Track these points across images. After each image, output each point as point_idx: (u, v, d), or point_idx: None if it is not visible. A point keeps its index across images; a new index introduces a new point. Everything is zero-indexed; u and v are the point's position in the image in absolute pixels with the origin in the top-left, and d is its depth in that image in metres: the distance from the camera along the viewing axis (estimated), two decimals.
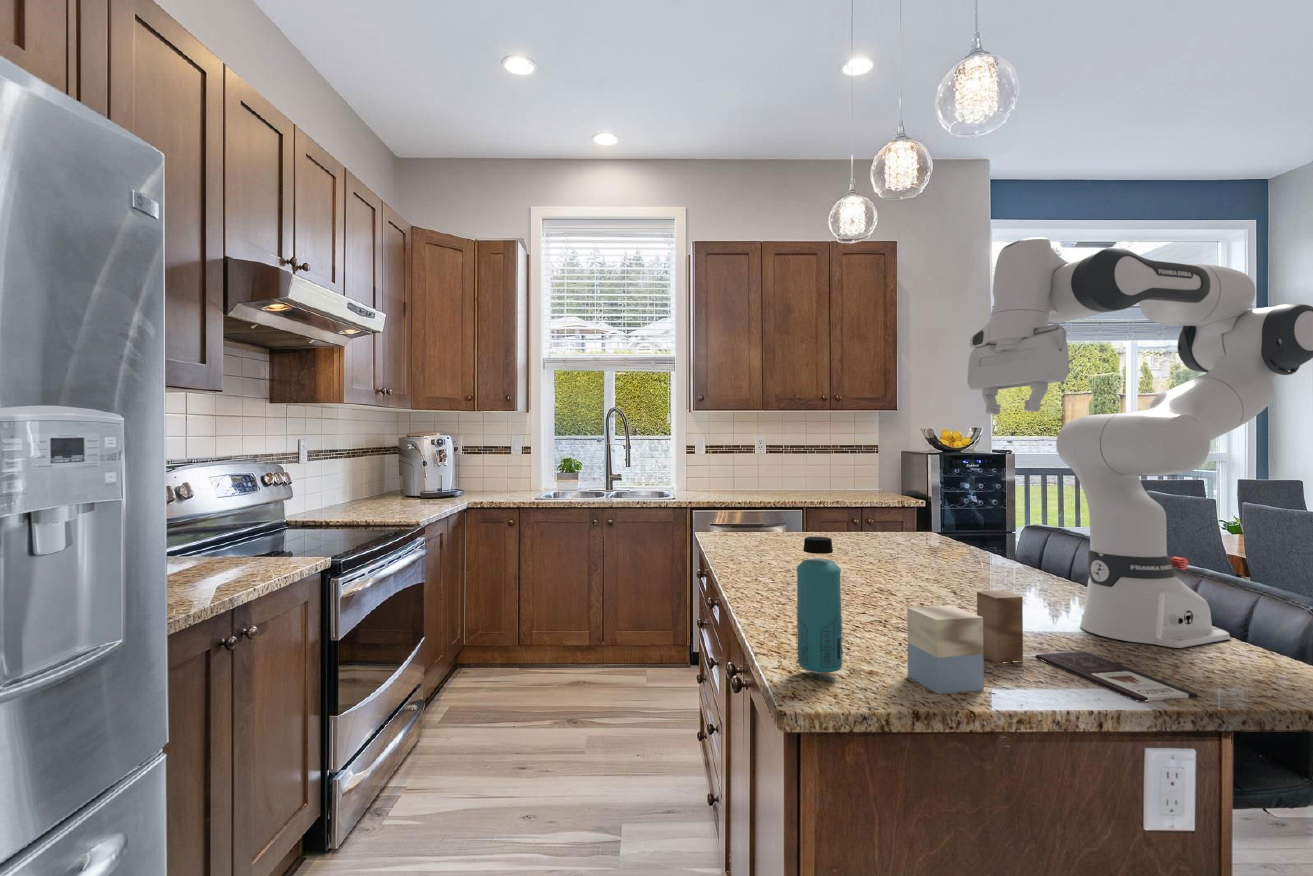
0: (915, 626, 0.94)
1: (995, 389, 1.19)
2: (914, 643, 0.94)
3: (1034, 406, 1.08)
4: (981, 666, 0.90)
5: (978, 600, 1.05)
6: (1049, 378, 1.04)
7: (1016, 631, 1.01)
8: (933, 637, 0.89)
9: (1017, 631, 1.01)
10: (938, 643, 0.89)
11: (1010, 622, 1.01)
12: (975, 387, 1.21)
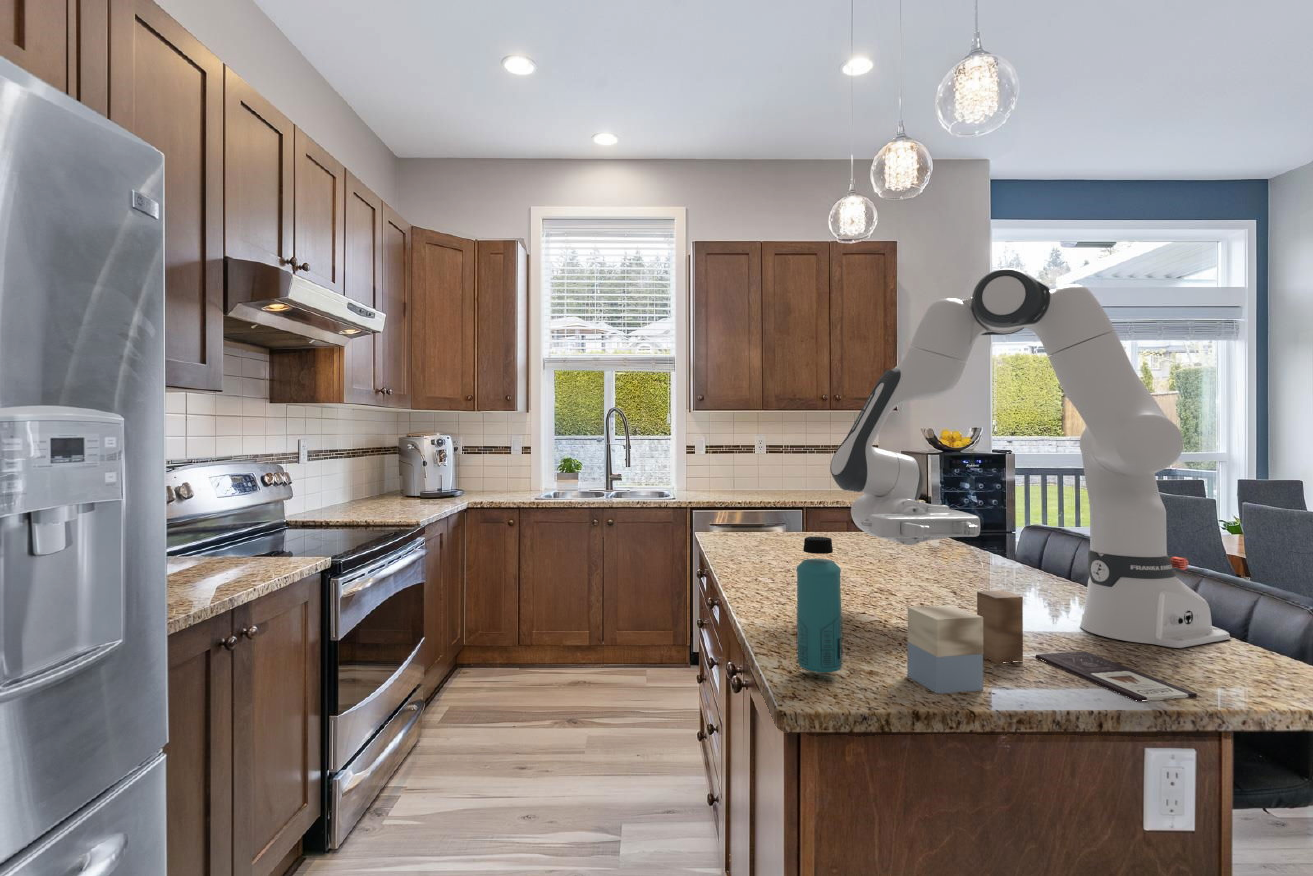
0: (915, 625, 0.94)
1: (959, 524, 1.21)
2: (914, 643, 0.94)
3: (919, 532, 1.15)
4: (980, 666, 0.90)
5: (978, 600, 1.05)
6: (885, 535, 1.18)
7: (1016, 631, 1.01)
8: (933, 637, 0.89)
9: (1017, 631, 1.01)
10: (938, 642, 0.89)
11: (1010, 622, 1.01)
12: (970, 535, 1.22)
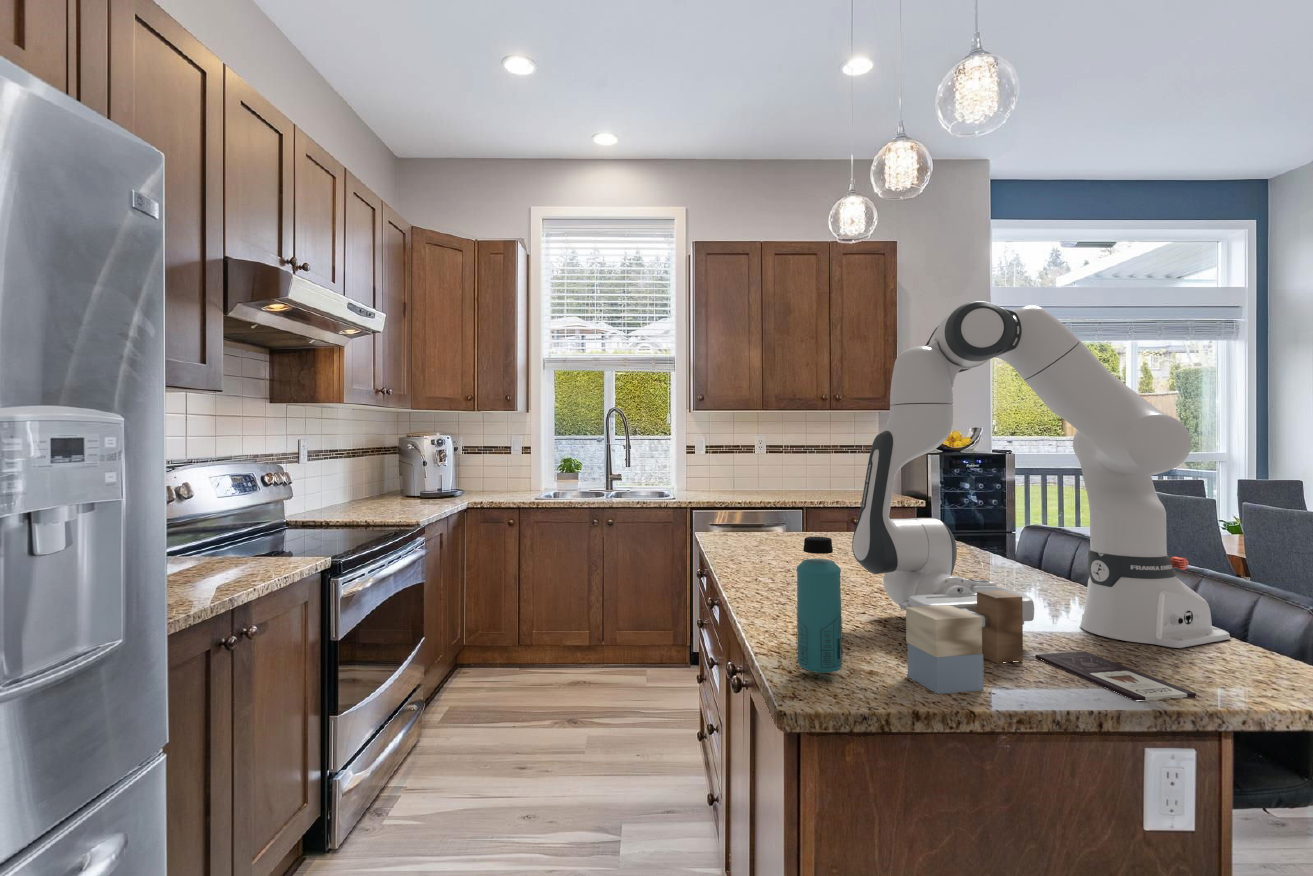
0: (914, 625, 0.94)
1: None
2: (913, 643, 0.94)
3: None
4: (981, 666, 0.90)
5: (978, 600, 1.05)
6: None
7: (1016, 631, 1.01)
8: (932, 637, 0.89)
9: (1017, 631, 1.01)
10: (937, 643, 0.89)
11: (1010, 622, 1.01)
12: None
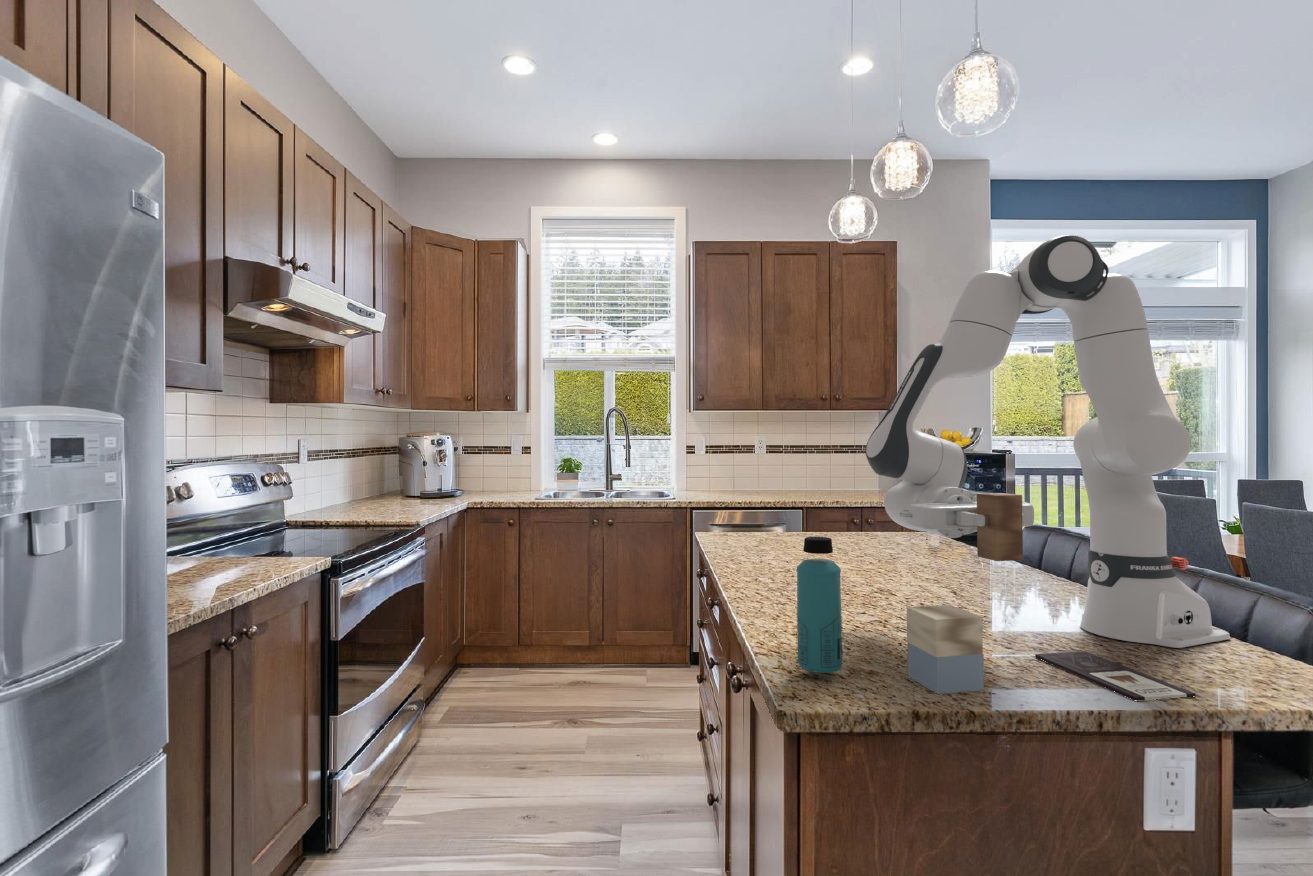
0: (914, 625, 0.94)
1: None
2: (913, 643, 0.94)
3: (978, 521, 1.03)
4: (981, 665, 0.90)
5: (978, 501, 1.05)
6: (930, 526, 1.06)
7: (1016, 529, 1.01)
8: (933, 637, 0.89)
9: (1017, 529, 1.01)
10: (937, 643, 0.89)
11: (1010, 520, 1.01)
12: (1024, 525, 1.09)
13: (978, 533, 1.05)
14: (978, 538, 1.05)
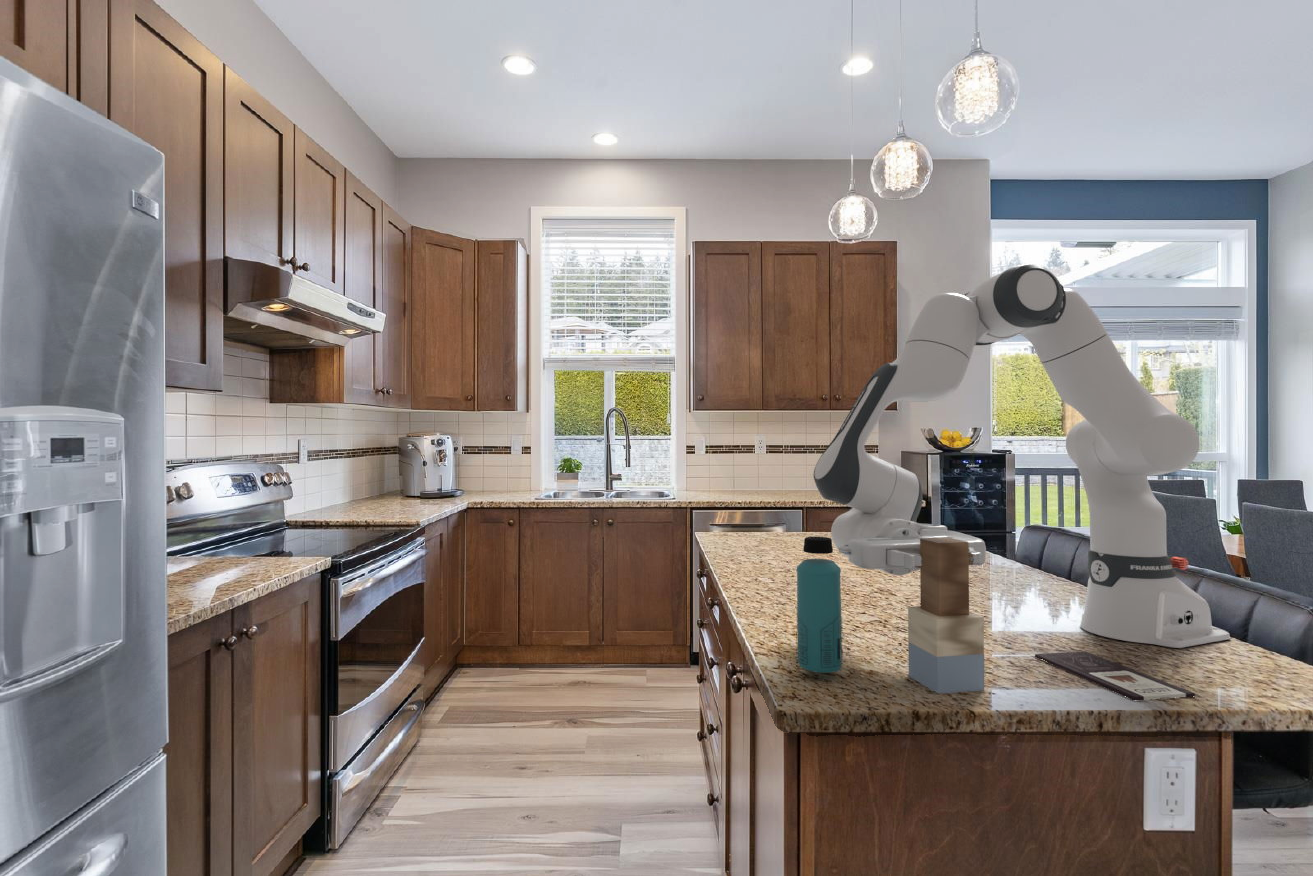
0: (915, 625, 0.94)
1: None
2: (915, 642, 0.94)
3: (909, 562, 0.92)
4: (981, 665, 0.90)
5: (921, 547, 0.94)
6: (868, 566, 0.95)
7: (961, 580, 0.91)
8: (933, 636, 0.89)
9: (962, 580, 0.91)
10: (938, 642, 0.89)
11: (955, 571, 0.91)
12: None
13: (921, 583, 0.94)
14: (921, 588, 0.94)
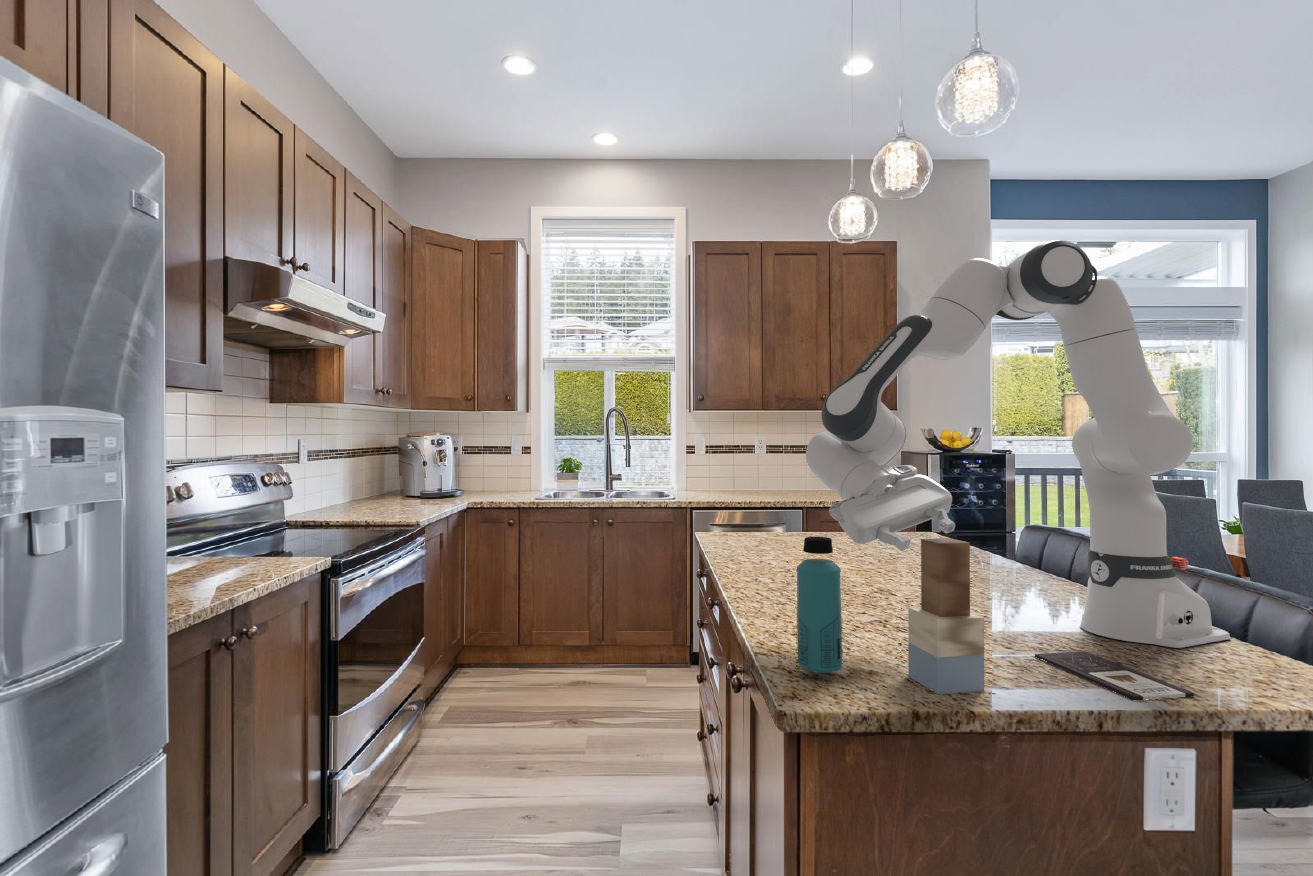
0: (916, 626, 0.93)
1: (933, 510, 1.12)
2: (915, 643, 0.93)
3: (899, 546, 1.05)
4: (981, 665, 0.90)
5: (922, 548, 0.94)
6: (861, 543, 1.08)
7: (962, 581, 0.91)
8: (934, 637, 0.89)
9: (963, 581, 0.91)
10: (938, 643, 0.88)
11: (956, 571, 0.90)
12: None
13: (922, 583, 0.94)
14: (922, 589, 0.94)
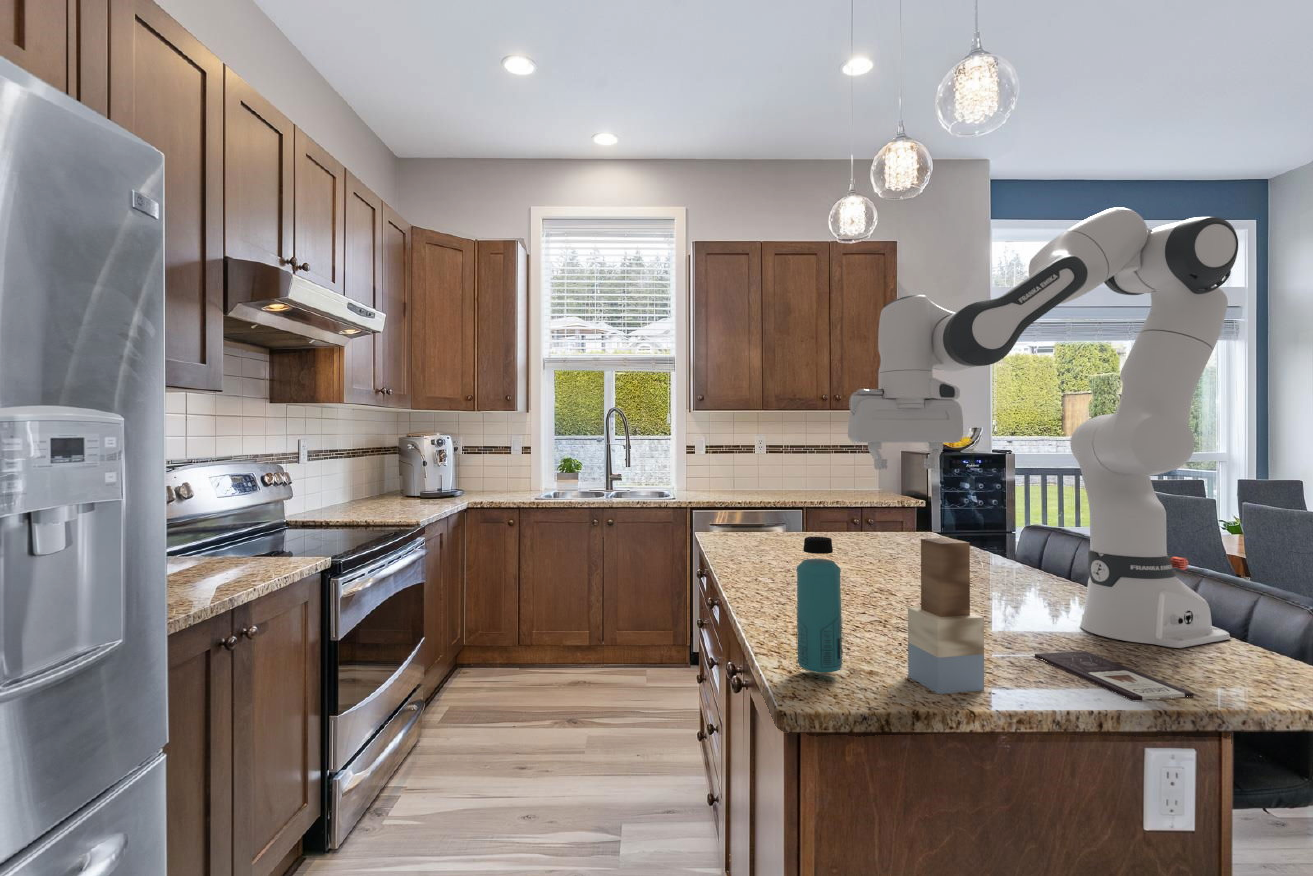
0: (915, 626, 0.93)
1: (934, 443, 1.15)
2: (915, 643, 0.94)
3: (876, 465, 1.14)
4: (981, 665, 0.90)
5: (922, 548, 0.94)
6: None
7: (962, 581, 0.91)
8: (934, 637, 0.89)
9: (963, 581, 0.91)
10: (938, 643, 0.89)
11: (956, 571, 0.91)
12: None
13: (922, 583, 0.94)
14: (922, 589, 0.94)
